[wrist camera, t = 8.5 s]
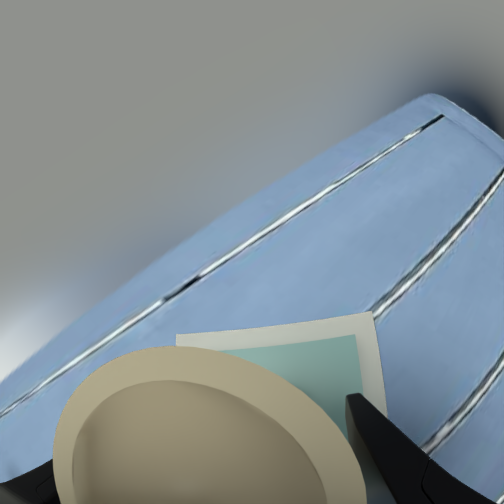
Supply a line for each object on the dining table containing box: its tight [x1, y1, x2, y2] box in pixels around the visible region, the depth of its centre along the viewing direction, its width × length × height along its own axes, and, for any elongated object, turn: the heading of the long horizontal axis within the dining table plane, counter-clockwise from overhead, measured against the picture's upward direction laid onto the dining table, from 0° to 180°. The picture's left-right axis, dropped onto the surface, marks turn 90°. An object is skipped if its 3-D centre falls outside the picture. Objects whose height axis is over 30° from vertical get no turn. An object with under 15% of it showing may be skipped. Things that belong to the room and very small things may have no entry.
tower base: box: [176, 311, 388, 443], centre depth 16 cm, size 14×14×4 cm
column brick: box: [53, 346, 367, 504], centre depth 8 cm, size 6×6×12 cm
